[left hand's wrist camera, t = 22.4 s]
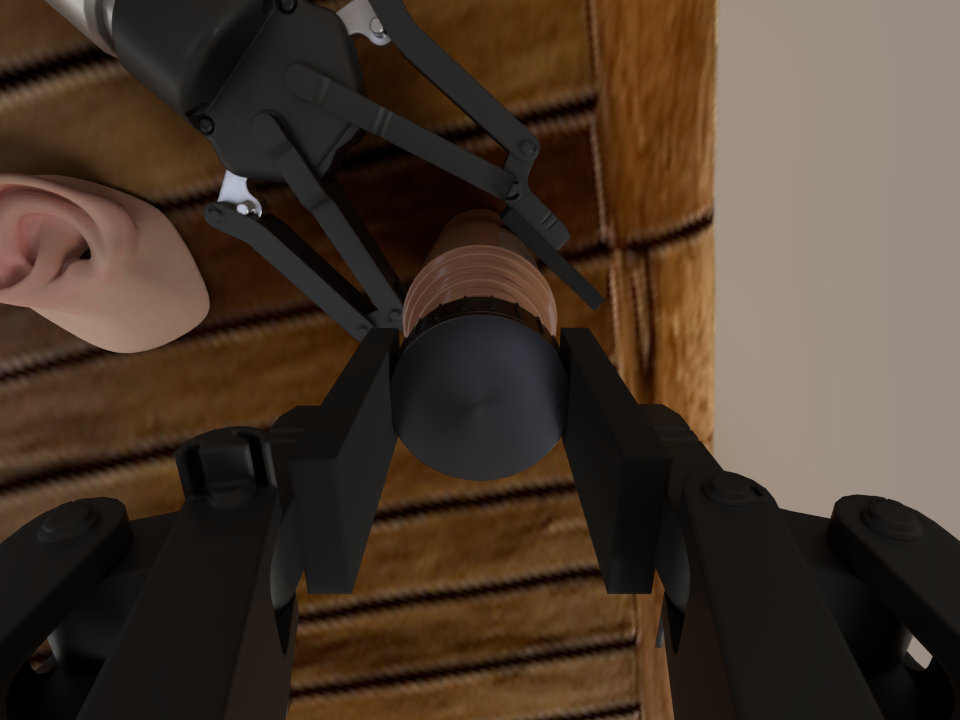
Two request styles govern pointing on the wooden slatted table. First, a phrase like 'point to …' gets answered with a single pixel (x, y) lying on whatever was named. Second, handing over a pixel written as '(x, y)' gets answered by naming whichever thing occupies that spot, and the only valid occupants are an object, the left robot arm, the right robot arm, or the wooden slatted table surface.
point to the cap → (479, 389)
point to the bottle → (479, 270)
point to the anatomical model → (96, 263)
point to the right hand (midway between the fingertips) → (549, 340)
